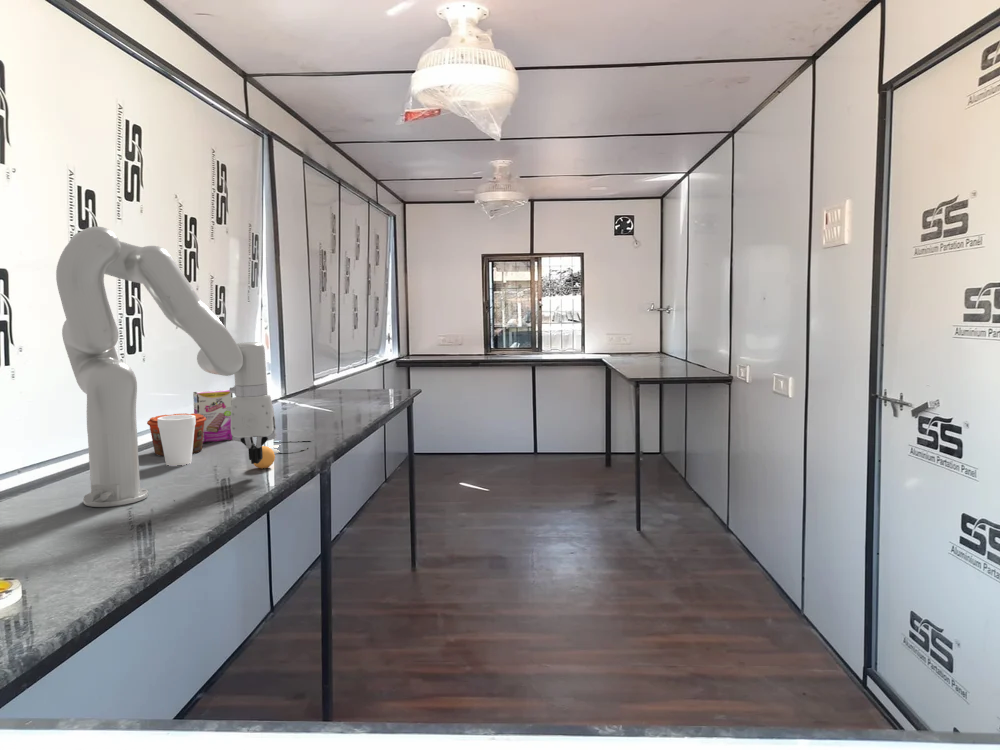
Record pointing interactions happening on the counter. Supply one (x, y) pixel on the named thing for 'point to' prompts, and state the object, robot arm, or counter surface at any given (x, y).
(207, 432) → the candy bar box
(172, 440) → the foam cup
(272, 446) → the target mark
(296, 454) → the counter surface
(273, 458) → the ball
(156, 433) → the food container
